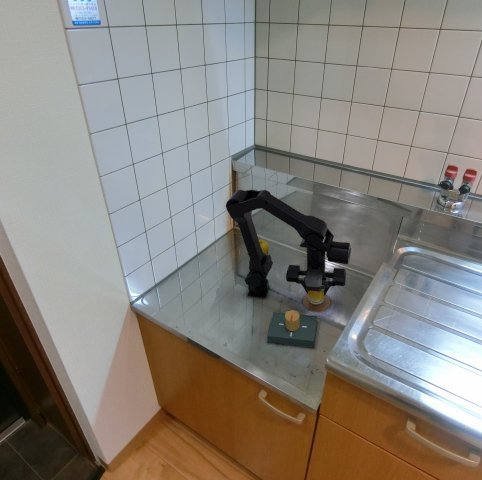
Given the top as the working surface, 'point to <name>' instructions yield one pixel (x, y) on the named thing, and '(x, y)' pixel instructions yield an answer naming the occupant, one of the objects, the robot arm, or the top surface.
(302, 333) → the green dial base
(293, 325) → the tap knob
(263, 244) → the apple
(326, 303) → the coaster
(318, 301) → the supplement bottle
